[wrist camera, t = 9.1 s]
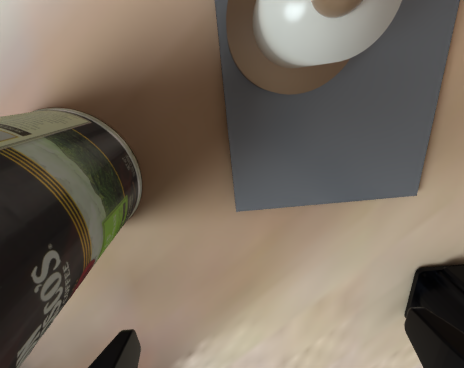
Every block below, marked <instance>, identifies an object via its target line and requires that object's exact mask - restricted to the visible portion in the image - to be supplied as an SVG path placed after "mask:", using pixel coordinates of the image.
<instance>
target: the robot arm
mask: <svg viewBox="0 0 464 368" xmlns="http://www.w3.org/2000/svg"><path fill="white" fill-rule="evenodd" d="M405 318H406V321H405V331H406V334H407V336H408V338H409V340H410V342H411V344H412V346H413V348H414V350H415V352H416V354H417V356H418V358H419V360H420V362H421V364H422V366H423V368H464V265H451V266H439V267H427V268H419V269H418V270H417V271H416V272H415V275H414V279H413V283H412V287H411V291H410V295H409V299H408V303H407V307H406V311H405ZM140 352H141V346H140V343H139V340H138V337H137V335H136V332H135V330H133V329H130V330H122V331H121V332H119V333H118V335H117V336H116V337H115V338H114V339H113V340H112V341H111V342H110V344H109V345H108V346H107V347H106V348H105V349H104V350H103V351H102V353H101V354H100V355H99V356H98V357H97V358H96V359H95V360H94V362H93V363H92V364H91V365H90V366H89V367H88V368H138V363H139V357H140Z"/></svg>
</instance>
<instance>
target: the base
mask: <svg viewBox="0 0 464 368" xmlns="http://www.w3.org/2000/svg"><path fill="white" fill-rule="evenodd" d="M255 3H256V0H228V3H227V12H226V29H227V40H228V46H229V50H230V53H231V56H232V58H233V61H234V62H235V64H236V66H237V68H238V69H239V70H240V72H241V73H242V74H243V75H244V76H245V77H246V79H248V80H249V81H250V82H251V83H253V84H254V85H256V86H258V87H260V88H262V89H264V90H267V91H271V92H275V93H278V94H287V95H290V94H300V93H305V92H308V91H312V90H314V89H316V88H318V87H320V86H322V85H324V84H325V83H327V82H328V81H330V80H331V79H332V78H333V77H335V76H336V75H337V74H338V73H339V72H340V71H341V70H342V69H343V68H344V66H345V65H346V64H347V63H348V61H349V60H350V58H349V59H347V60H343V61H340V62H334V63H328V64H321V65H315V66H308V67H301V68H284V67H280V66H278V65H276V64H274V63H272V62H271V61H270V60H268V59H267V58H266V57H265V56H264V54H263V53H262V52H261V50H260V49H259V47H258V45H257V43H256V40H255V37H254V32H253V10H254V6H255Z"/></svg>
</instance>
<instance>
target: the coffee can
mask: <svg viewBox="0 0 464 368" xmlns="http://www.w3.org/2000/svg"><path fill="white" fill-rule="evenodd" d="M141 193H142V179H141V173H140V169H139V166H138V163H137V160H136V158H135V156H134V155H133V153H132V151H131V149H130V148H129V147H128V145H127V144H126V143H125V141H124V140H123V139H122V138H121V137H120V136H119V135H118V134H117V133H116V132H115V131H114V130H113V129H111V128H110V127H109V126H108V125H106V124H105V123H103V122H102V121H100V120H99V119H97V118H95V117H93V116H91V115H88V114H86V113H83V112H80V111H76V110H72V109H66V108H46V109H40V110H36V111H33V112H30V113H23V114H16V115H10V116H4V117H0V368H19V367H20V366H21V364H22V363H23V361H24V360H25V359H26V358H27V356H28V355H29V354H30V353H31V351H32V349H33V348H34V346H35V345H36V344H37V342H38V341H39V339H40V338H41V337H42V335H43V334H44V333H45V332H46V330H47V329H48V328H49V326H50V325H51V323H52V322H53V320H54V319H55V317H56V316H57V315H58V314H59V312H60V311H61V309H62V308H63V307H64V305H65V304H66V303H67V301H68V300H69V299H70V298H71V296H72V295H73V293H74V292H75V290H76V289H77V288H78V287H79V285H80V284H81V282H82V281H83V280H84V278H85V277H86V276H87V274H88V273H89V271H90V270H91V268H92V267H93V266H94V264H95V263H96V262H97V260H98V259H99V257H100V256H101V255H102V253H103V252H104V251H105V249H106V248H107V247H108V245H109V244H110V242H111V241H112V240H113V238H114V237H115V236H116V234H117V233H118V232H119V230H120V229H121V228H122V226H123V225H124V224H125V222H126V221H127V220H128V219H129V218H130V217H131V216H132V215H133V213H134V212H135V210H136V209H137V207H138V204H139V201H140V198H141Z"/></svg>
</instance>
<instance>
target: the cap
mask: <svg viewBox="0 0 464 368" xmlns="http://www.w3.org/2000/svg"><path fill="white" fill-rule="evenodd" d="M401 2H402V0H256V3H255V6H254V10H253V32H254V37H255V40H256V43H257V45H258V47H259V49H260V50H261V52H262V53H263V54H264V56H265V57H266V58H267V59H268V60H270V61H271V62H272V63H274V64H276V65H278V66H280V67H284V68H301V67H308V66H315V65H321V64H328V63H334V62H340V61H343V60H347V59H349V58H352V57H354V56H356V55H358V54H359V53H361V52H363V51H364V50H366V49H367V48H368V47H370V46H371V45H372V44H373V43H374V42H375V41H376V40H377V39H378V38H379V37H380V36H381V35H382V34H383V33H384V31H385V30H386V29H387V28H388V26H389V25H390V23H391V22H392V20H393V18H394V17H395V15H396V13H397V11H398V9H399V7H400V4H401Z"/></svg>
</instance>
